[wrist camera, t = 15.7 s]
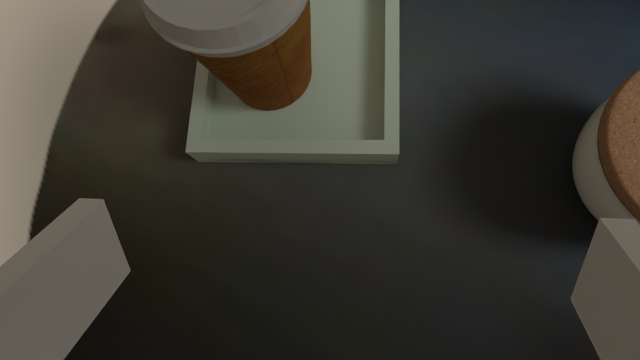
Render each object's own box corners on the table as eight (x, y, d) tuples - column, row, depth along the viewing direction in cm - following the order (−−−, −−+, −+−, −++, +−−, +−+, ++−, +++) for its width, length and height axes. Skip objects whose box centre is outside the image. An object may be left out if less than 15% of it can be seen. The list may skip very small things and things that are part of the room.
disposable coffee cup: (208, 31, 33) (123, -103, 22) (324, 9, 33) (300, -141, 21) (215, 141, 31) (125, 56, 19) (341, 120, 30) (325, 18, 19)
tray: (396, -13, 34) (399, -36, 31) (396, 164, 30) (399, 154, 28) (219, -6, 35) (208, -27, 33) (199, 162, 32) (185, 152, 29)
